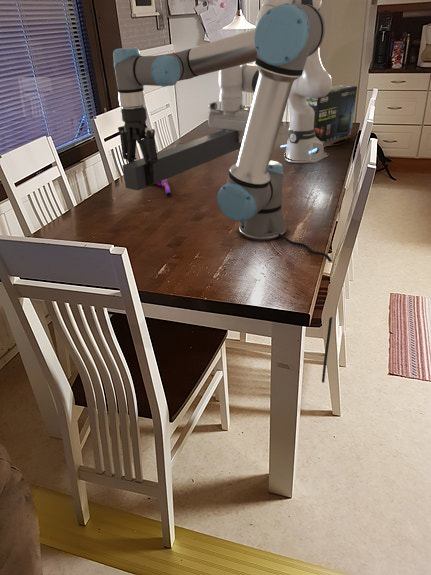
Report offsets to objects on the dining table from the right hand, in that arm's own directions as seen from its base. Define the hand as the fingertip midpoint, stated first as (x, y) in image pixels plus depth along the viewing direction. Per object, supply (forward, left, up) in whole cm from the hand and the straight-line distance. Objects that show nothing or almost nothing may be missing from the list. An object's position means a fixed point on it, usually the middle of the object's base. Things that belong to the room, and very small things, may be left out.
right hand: (232, 141), depth 181 cm
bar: (+25, +5, -3) cm, 26 cm away
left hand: (+50, +11, -2) cm, 51 cm away
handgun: (+23, -19, -18) cm, 35 cm away
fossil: (-11, -51, -18) cm, 55 cm away
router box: (-81, -13, -18) cm, 84 cm away
